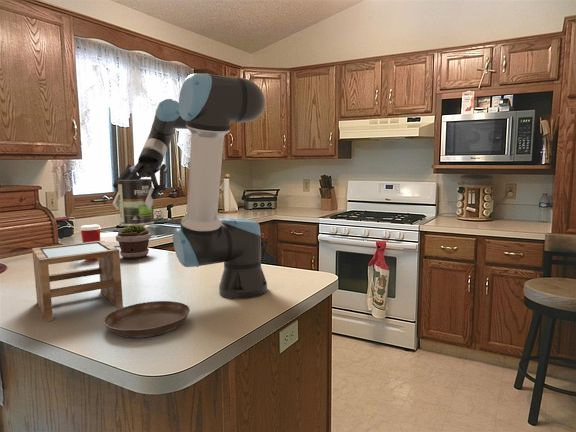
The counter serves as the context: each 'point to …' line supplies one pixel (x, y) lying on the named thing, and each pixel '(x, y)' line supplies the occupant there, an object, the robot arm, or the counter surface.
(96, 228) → the coffee cup
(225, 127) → the robot arm
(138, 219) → the coffee can
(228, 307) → the counter surface
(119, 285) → the wooden stand
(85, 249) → the lid
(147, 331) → the plant saucer
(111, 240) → the crystal
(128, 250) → the flowerpot
